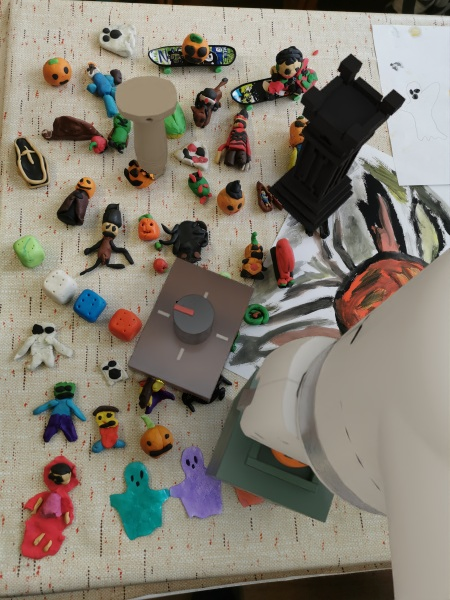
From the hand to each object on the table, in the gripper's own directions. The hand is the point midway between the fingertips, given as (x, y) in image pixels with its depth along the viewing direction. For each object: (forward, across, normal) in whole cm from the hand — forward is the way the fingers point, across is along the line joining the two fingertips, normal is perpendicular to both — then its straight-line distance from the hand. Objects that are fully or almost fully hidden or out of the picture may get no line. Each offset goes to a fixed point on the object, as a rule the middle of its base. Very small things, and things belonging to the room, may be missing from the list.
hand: (301, 438), depth 39 cm
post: (+25, 0, 0) cm, 25 cm away
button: (+3, 0, 0) cm, 3 cm away
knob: (+22, +12, -10) cm, 27 cm away
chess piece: (+25, +5, -33) cm, 42 cm away
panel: (+25, +12, -10) cm, 30 cm away
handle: (+26, +25, -28) cm, 45 cm away
